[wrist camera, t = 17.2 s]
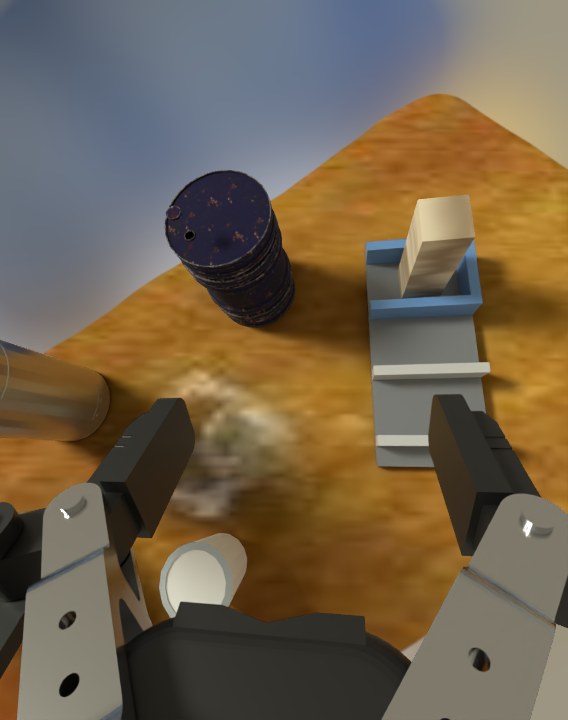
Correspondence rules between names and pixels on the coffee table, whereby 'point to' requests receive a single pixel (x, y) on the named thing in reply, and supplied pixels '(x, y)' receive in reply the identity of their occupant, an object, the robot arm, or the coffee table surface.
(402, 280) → the peg
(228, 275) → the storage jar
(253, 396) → the coffee table surface
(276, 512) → the coffee table surface
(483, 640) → the robot arm
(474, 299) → the grey slotted base
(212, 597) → the beige cylinder
